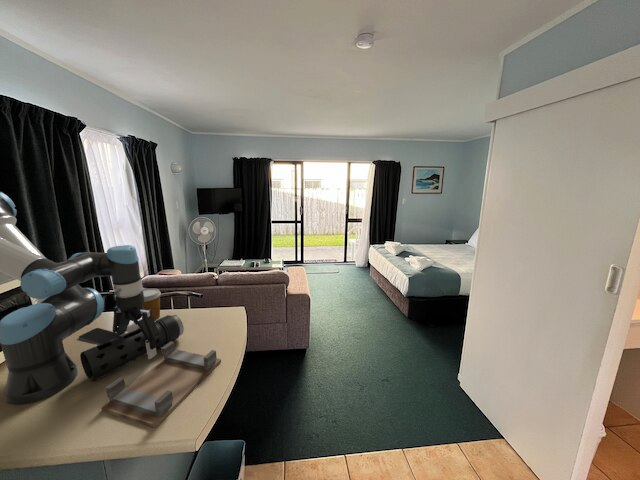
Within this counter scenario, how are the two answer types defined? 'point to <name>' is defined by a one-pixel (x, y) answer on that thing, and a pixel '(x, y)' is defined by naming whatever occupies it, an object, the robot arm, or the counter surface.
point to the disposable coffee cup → (152, 302)
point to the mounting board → (160, 386)
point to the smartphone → (98, 336)
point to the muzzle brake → (127, 348)
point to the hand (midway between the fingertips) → (139, 353)
